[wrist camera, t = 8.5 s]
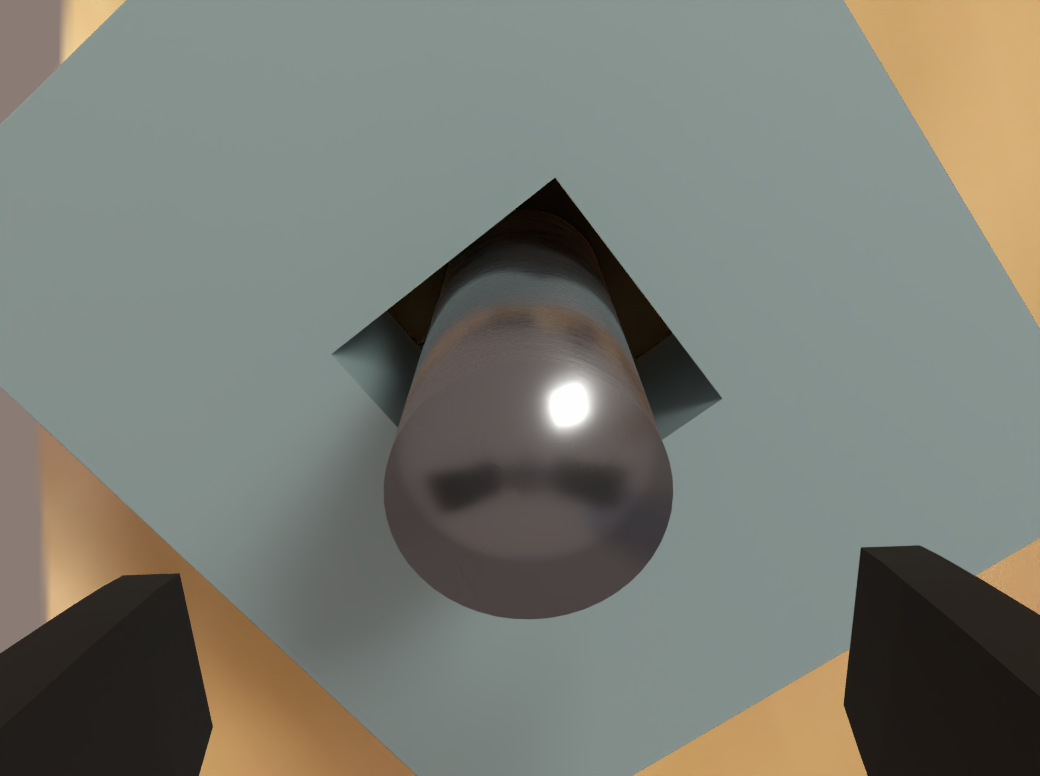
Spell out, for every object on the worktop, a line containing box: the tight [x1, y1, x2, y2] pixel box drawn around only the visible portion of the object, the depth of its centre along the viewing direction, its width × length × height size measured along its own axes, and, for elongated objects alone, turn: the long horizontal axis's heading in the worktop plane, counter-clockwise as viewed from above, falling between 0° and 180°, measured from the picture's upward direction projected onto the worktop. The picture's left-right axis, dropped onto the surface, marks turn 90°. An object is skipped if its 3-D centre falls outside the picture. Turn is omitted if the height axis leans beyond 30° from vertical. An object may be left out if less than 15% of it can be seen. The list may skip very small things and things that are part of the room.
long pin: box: [384, 209, 673, 620], centre depth 14 cm, size 3×3×9 cm
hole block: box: [0, 0, 1040, 776], centre depth 16 cm, size 16×14×4 cm
